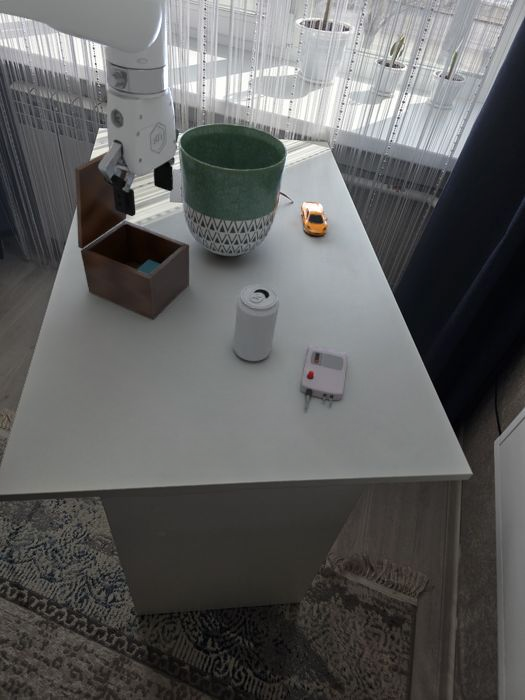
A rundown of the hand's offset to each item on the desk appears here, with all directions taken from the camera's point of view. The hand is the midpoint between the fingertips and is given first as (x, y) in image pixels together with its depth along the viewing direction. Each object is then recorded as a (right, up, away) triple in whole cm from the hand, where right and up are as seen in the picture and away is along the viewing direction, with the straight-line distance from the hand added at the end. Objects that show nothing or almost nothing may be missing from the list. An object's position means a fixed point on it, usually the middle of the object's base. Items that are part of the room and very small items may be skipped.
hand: (145, 199), depth 72 cm
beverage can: (+16, -23, +7) cm, 29 cm away
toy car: (+30, +6, +37) cm, 48 cm away
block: (-2, -12, +13) cm, 18 cm away
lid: (-7, +2, +4) cm, 9 cm away
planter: (+11, -1, +27) cm, 29 cm away
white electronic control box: (+28, -28, +4) cm, 40 cm away
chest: (-5, -12, +15) cm, 19 cm away
